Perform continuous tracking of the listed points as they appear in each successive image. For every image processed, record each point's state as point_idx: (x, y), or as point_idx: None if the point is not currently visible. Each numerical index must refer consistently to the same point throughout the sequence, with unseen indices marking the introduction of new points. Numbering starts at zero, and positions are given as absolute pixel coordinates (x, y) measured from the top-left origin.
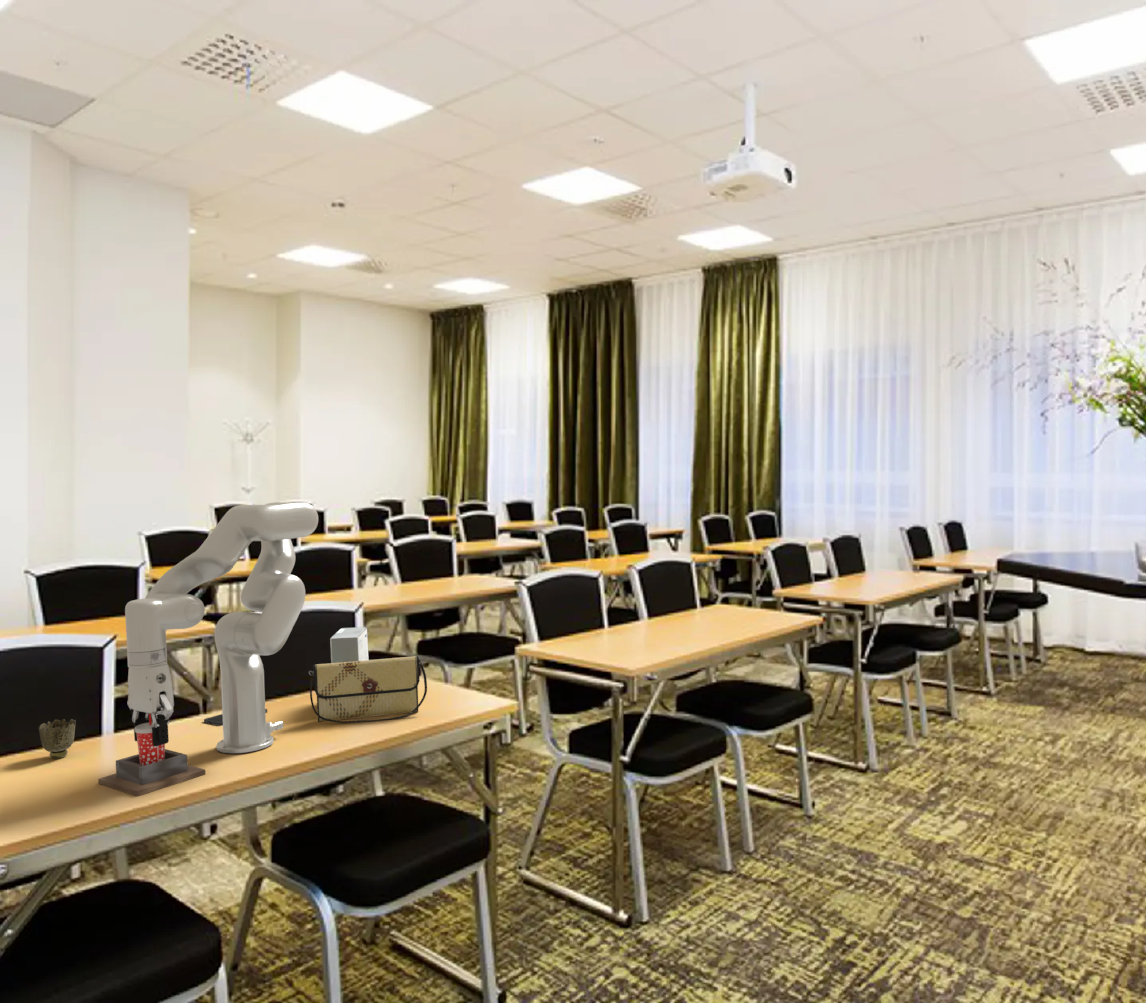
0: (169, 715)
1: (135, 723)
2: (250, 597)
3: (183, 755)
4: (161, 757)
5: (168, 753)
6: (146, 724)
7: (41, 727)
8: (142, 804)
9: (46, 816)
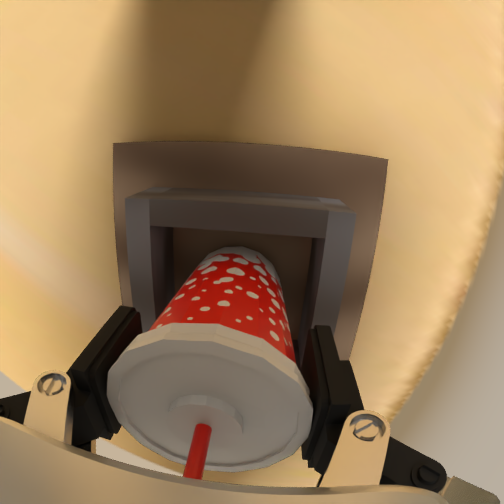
0: (457, 489)
1: (109, 436)
2: None
3: (350, 229)
4: (283, 300)
5: (236, 230)
6: (179, 434)
7: None
8: (393, 390)
9: (254, 471)
